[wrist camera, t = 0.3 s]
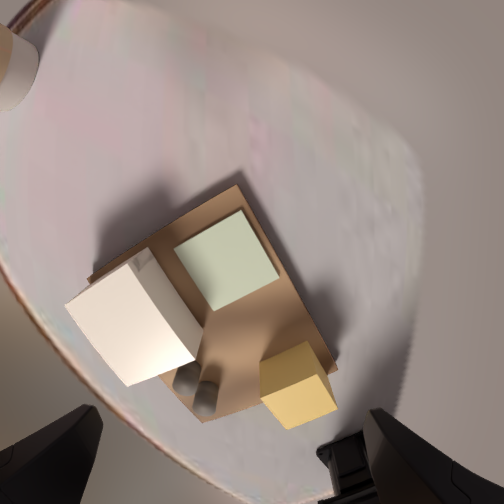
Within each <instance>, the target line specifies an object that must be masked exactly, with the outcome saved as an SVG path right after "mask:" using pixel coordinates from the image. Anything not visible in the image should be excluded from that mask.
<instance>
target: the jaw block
mask: <svg viewBox="0 0 504 504" xmlns="http://www.w3.org/2000/svg"><path fill="white" fill-rule="evenodd" d="M259 377H260V399H261V400H262V401H263V402H264V404H265V405H266V406H267V407H268V408H269V410H270V411H271V412H272V413H273V414H274V416H275V417H276V418H277V419H278V420H279V422H280V423H281V424H282V425H283V426H284V428H285V429H286V430H288V429H290V428H293V427H296V426H298V425H301V424H303V423H306V422H308V421H311V420H313V419H316V418H318V417H321V416H323V415H325V414H328V413H330V412H332V411H334V410H337V409H338V408H337V404H336V401H335V398H334V395H333V392H332V389H331V386H330V383H329V380H328V377H327V374H326V373H325V371H324V369H323V367H322V366H321V364H320V362H319V360H318V359H317V357H316V355H315V353H314V351H313V350H312V348H311V346H310V344H309V343H308V341H305V342H303V343H301V344H299V345H297V346H295V347H293V348H291V349H288V350H286V351H284V352H282V353H280V354H278V355H275V356H273V357H271V358H269V359H266V360H264V361H262V362H260V363H259Z"/></svg>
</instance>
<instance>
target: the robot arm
mask: <svg viewBox="0 0 504 504" xmlns="http://www.w3.org/2000/svg"><path fill="white" fill-rule="evenodd" d="M102 429H103V421H102V419H101V417H100V415H99V412H98V410H97V408H96V407H95V406H94V405H90V404H83V405H81V406H80V407H78V408H76V409H75V410H73V411H71V412H69V413H68V414H66V415H64V416H63V417H61V418H59V419H58V420H56V421H54V422H52V423H51V424H49V425H47V426H45V427H44V428H42V429H40V430H38V431H37V432H35V433H33V434H31V435H29V436H28V437H26V438H24V439H22V440H20V441H19V442H17V443H15V444H14V445H11V446H9V447H8V448H6V449H4V450H2V451H0V504H80V502H81V499H82V496H83V493H84V490H85V487H86V484H87V481H88V478H89V475H90V473H91V470H92V467H93V464H94V461H95V458H96V454H97V449H98V445H99V441H100V437H101V433H102ZM316 455H317V457H318V458H319V459H320V460H321V461H322V462H323V463H324V464H325V466H326V467H327V468H328V469H329V472H330V476H331V481H332V485H333V490H334V495H335V496H334V497H331V498H328V499H325V500H320V501H318V504H504V488H503V487H501V486H499V485H497V484H495V483H493V482H491V481H488V480H486V479H484V478H482V477H480V476H479V475H477V474H475V473H473V472H471V471H470V470H468V469H466V468H465V467H463V466H461V465H460V464H459V463H457V462H456V461H453V460H452V459H451V458H449V457H448V456H447V455H445V454H444V453H442V452H441V451H440V450H438V449H437V448H435V447H434V446H432V445H431V444H429V443H428V442H427V441H425V440H424V439H423V438H421V437H420V436H418V435H417V434H415V433H414V432H413V431H411V430H410V429H408V428H407V427H406V426H405V425H403V424H402V423H401V422H399V421H398V420H396V419H395V418H394V417H392V416H391V415H390V414H388V413H387V412H386V411H384V410H383V409H381V408H376V409H370V410H369V411H368V412H367V415H366V419H365V422H364V426H363V431H362V432H359V433H357V434H355V435H353V436H351V437H348V438H346V439H344V440H341V441H339V442H337V443H334V444H332V445H329V446H327V447H324V448H321V449H319V450H317V451H316Z"/></svg>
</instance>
